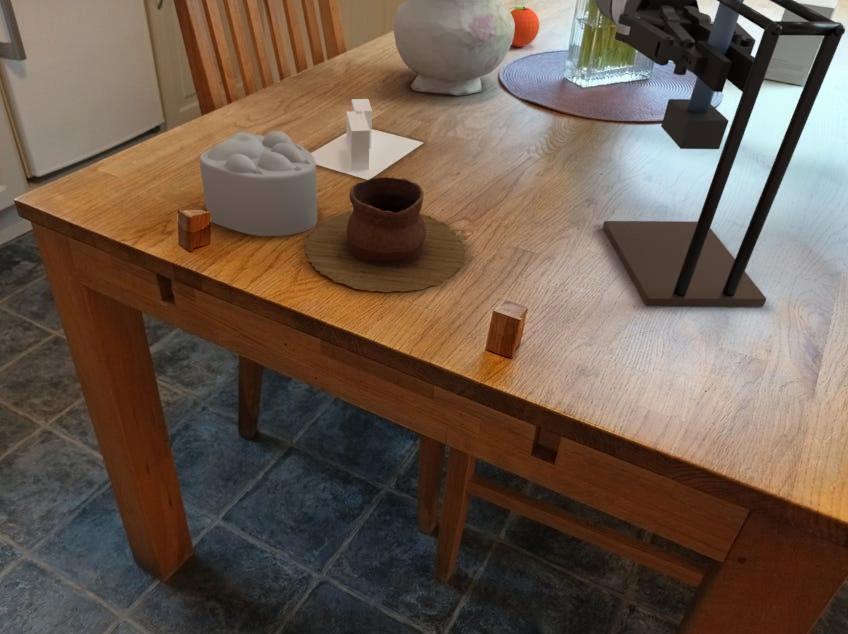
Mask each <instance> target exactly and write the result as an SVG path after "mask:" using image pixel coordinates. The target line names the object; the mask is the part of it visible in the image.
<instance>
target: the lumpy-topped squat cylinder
mask: <svg viewBox="0 0 848 634" xmlns="http://www.w3.org/2000/svg"><path fill="white" fill-rule="evenodd" d="M311 153H312V152H310V151H309V150H308V149H306V148H304V147H303V146H302V145H300V144H298V143H294V142H293V139H291V137H290V136H289V135H287V133H285V132H283V131H279V130H275V131H274V130H273V131H270V132H268V133H267V134H266V135H261V134H251V133H248V132H245V131H240V132H239V131H238V132H236V133H233V134H232V136H230V137H228V138H226V139H225V140H224V141H222V142H219V143H216V144H215V145H214V146H213V147H212V148H210V149H207V150H205V151H203V152H202V153H201V154H200V155H199V168H200V175H201V182H202V189H203V197H204V204H205V211H206V210H207V211H209V212H210V213H211V220H209V221H210V222H212V223H213V224H216V225H218V226H221V227H223V228H226V229H229V230H231V231H234V232H235V231H236V232H238V233H243V234H247V235H251V236H256V237H284V236H285V237H286V236H291V235H296V234H300V233H303V232H304V233H305V232H308V231H309V230H311V229H313V228H314V227H315V226H316V225H317V223H318V196H317V195H318V191H317V165H316V162H315V159H314V157H313V155H312V154H311Z"/></svg>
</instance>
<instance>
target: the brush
mask: <svg viewBox="0 0 848 634" xmlns="http://www.w3.org/2000/svg"><path fill="white" fill-rule="evenodd" d="M738 1H740V2H742V3H743V4H744V1H745V0H738ZM739 17H740V14H738V13H736V12H735V11H733V10H732V9H730V8H728V7H727V6H725V5H723V4H722V3H720V2H719V3H718V7H717V10H716V14H715V17H714V20H713V22H714V23H713V26H712V29H711V33H710V36H709V39H708V44H709V45H711V46H712V47H713V48H715V49H716V50H717V51H718V52H720V53H721V54H722V55H724V56H725V57H726V54H727V51H728V48H729V45H730V42H731V39H732V36H733V33H734V30H735V26H736V23H738V20H739ZM714 94H715V92H714V91H713V90H712V89H710V88H709V87H708V86H707V85H706V84H705V83H704V82H703V81H701V80H700V79H699V78H698V77H697V76H696V79H695V82H694V86H693V89H692V92H691V96H690V98H687V99H686V98H669V99H668V101H667V104H666V108H665V112H664V115H663V119H662V122H661V125H660V127H661V128H662V129H663V131H664V132H665V133H666V134H667V135H668V137H670V138H671V139H672V141H673V142H674V143H675V144H676V145H677V146H678V147H679V149H681V150H720V148H721V145H722V141H723V139H724V136H725V133H726V130H727V128H728V124H729V121H730V120H729V119H727V118H726V117H725V116H724V114H722V113H721V112H720V111H719V110H718V109H717V108H716V107H715V106H713V104H712V102H713V98H714Z"/></svg>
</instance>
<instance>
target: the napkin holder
mask: <svg viewBox="0 0 848 634" xmlns="http://www.w3.org/2000/svg"><path fill="white" fill-rule="evenodd" d="M422 145H424V142H423V141H419V140H415V139H412V138H408V137H404V136H399V135H395V134H392V133H388V132H385V131H381V130H377V129H373V109H372V107H371V104H370V100H369V98H354V99H352V98H351V110H349V111H346V132H345V133H343V134H342V135H340V136H338V137H337V138H334V139H333V140H331V141H330V142H328V143H326V144H324V145H322V146H320V147H318V148H317V149H316V150H313V151H312V152H310V153H311V154H312V155H313V157H314V159H315V162H316V166H319V167H323V168H326V169H330V170H332V171H337V172H340V173H343V174H346V175H349V176H353V177H357V178H360V179H363V180H365V181H367V180H369V179H370V178H375V177H376V176H377V175H379V174H380V173H381V172H383V171H385V170H386V169H387V168H389V167H391V166H392V165H394V164H395V163H396V162H398V161H399V160H401V159H402V158H404V157H405V156H407V155H408V154H410V153H411V152H413V151H414V150H415V149H417V148H418V147H420V146H422Z"/></svg>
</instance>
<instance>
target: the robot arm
mask: <svg viewBox="0 0 848 634" xmlns="http://www.w3.org/2000/svg"><path fill="white" fill-rule="evenodd" d="M593 3H595V5H596V7H597V8H598V11H599V12H600V14H601V15H602V16H603V17H604V18H606V19H607V20H610V21H611V22H612V23H613V24H614V25H615V26H616V29H615V34H614V40H616V41H618V42H621V43H624V44H627V45H628V46H630V47H631V48H633V49H634V50H636V51H637V52H639V53H640V54H642V55H643V56H644V57H646V58H647V59H649V60H650V61H652V62H653V63H654V64H657V65H659V66H662V67H663V66H668V65H669V61H670V62H672V63H673V64H674V70H673V74H674V75H678V76H685V75H686V74H687V71H689V72H691V73H692V74H693V75H694V76H696V78H697V77H698V78H699V79H700V80H701V81H703V82H704V83H705V84H706V85H707V86H708V87H709V88H710V89H712V90H713V91H714V93H723V91H724V88H725V85H726V82H727V81H728V82H730V83H731V84H732V85H733V86H735V87H736V88H737V89H738V90H739V91H741V92H742V93H743V90H744V87H745V84H746V81H747V78H748V75H749V73H750V70H751V67H752V64H753V61H754V58H755V56H754V55H752V53H753V50H754V47H755V45H756V39H755V37H753V36H752V34H750V33H749V32H747V30H745V28H744V27H743V26H742V25H741V24H740V23H738V22H737V23H736V26H735V30H734V33H733V36H732V39H731V42H730V45H729V48H728V51H727V54H726V57H725V56H724V55H722V54H721V53H720V52H718V51H717V50H716V49H715V48H713V47H712V46H711V45H709V44H708V39H709V36H710V33H711V29H712V26H713V23H714V21H712V17H711V16H710V15H709V14H707V13H704V12H701V11H700V8H699V3H698V0H593Z"/></svg>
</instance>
